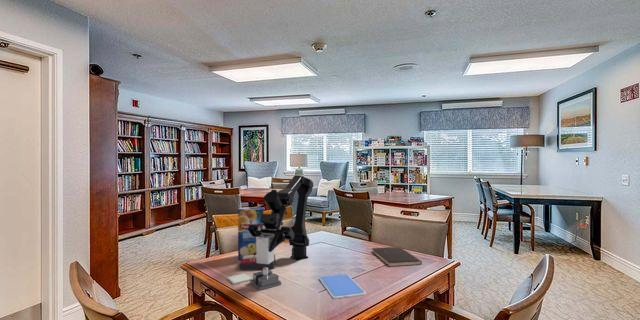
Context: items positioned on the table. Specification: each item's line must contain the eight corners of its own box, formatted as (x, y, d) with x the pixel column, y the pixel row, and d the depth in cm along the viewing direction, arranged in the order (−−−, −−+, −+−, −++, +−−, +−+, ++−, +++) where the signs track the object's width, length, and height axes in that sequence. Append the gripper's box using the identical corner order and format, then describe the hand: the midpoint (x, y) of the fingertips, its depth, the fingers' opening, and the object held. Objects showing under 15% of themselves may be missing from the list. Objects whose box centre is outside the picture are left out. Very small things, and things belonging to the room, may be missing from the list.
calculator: (243, 255, 147) (275, 252, 148) (243, 264, 147) (275, 261, 148) (238, 262, 136) (273, 259, 137) (239, 272, 136) (274, 269, 137)
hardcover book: (388, 267, 140) (388, 262, 140) (371, 252, 163) (371, 248, 163) (421, 265, 143) (421, 260, 143) (400, 251, 166) (400, 246, 166)
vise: (270, 277, 127) (270, 262, 127) (281, 284, 120) (281, 269, 120) (250, 282, 122) (250, 267, 122) (259, 290, 115) (259, 274, 115)
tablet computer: (366, 296, 111) (366, 292, 111) (333, 300, 107) (333, 296, 107) (347, 276, 129) (347, 273, 129) (318, 280, 126) (318, 276, 126)
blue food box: (263, 253, 159) (263, 207, 159) (263, 258, 152) (263, 209, 152) (239, 255, 157) (239, 207, 157) (237, 259, 150) (237, 210, 150)
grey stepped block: (263, 259, 124) (262, 234, 124) (274, 260, 123) (274, 234, 123) (253, 265, 117) (253, 238, 117) (265, 266, 116) (264, 239, 116)
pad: (245, 274, 131) (245, 273, 131) (252, 280, 125) (252, 278, 125) (227, 278, 126) (227, 277, 126) (233, 284, 120) (233, 283, 120)
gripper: (249, 204, 128) (234, 237, 118) (291, 206, 122) (278, 241, 111) (259, 219, 135) (245, 252, 125) (299, 222, 129) (288, 257, 119)
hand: (263, 250), depth 120 cm, fingers closed on grey stepped block, 5 cm apart
